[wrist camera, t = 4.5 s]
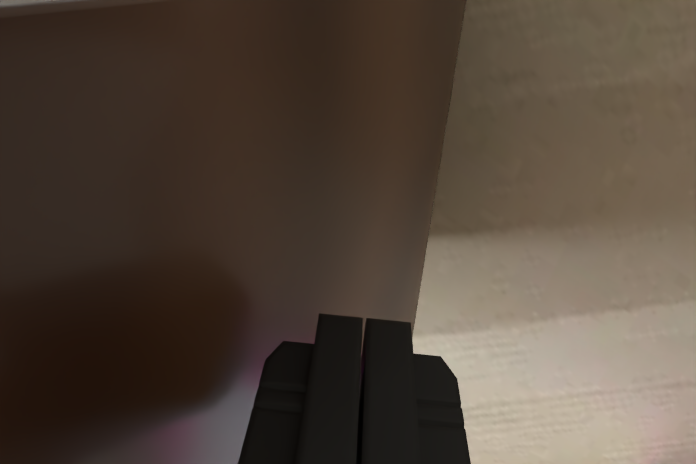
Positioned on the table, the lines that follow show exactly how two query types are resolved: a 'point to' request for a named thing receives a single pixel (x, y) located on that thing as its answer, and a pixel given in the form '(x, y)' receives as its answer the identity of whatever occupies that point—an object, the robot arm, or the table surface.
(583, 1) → the table surface
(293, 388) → the robot arm
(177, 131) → the lid
